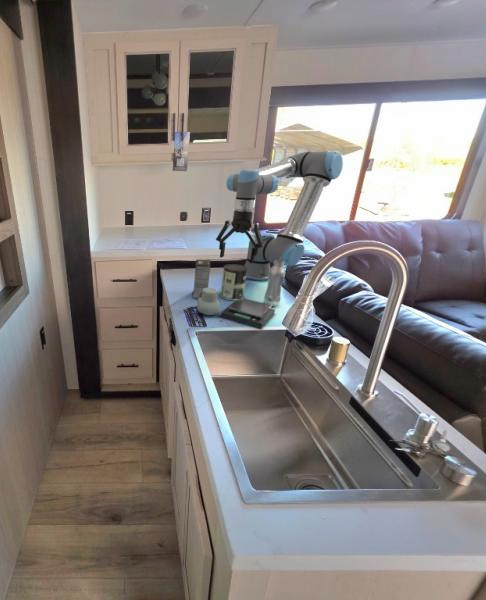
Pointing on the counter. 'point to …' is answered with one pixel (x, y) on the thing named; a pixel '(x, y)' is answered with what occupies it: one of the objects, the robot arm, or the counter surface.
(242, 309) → the scale pan
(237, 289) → the coffee can
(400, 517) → the counter surface
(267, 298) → the plastic bottle
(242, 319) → the scale
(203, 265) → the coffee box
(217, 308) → the air freshener
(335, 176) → the robot arm
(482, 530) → the counter surface
